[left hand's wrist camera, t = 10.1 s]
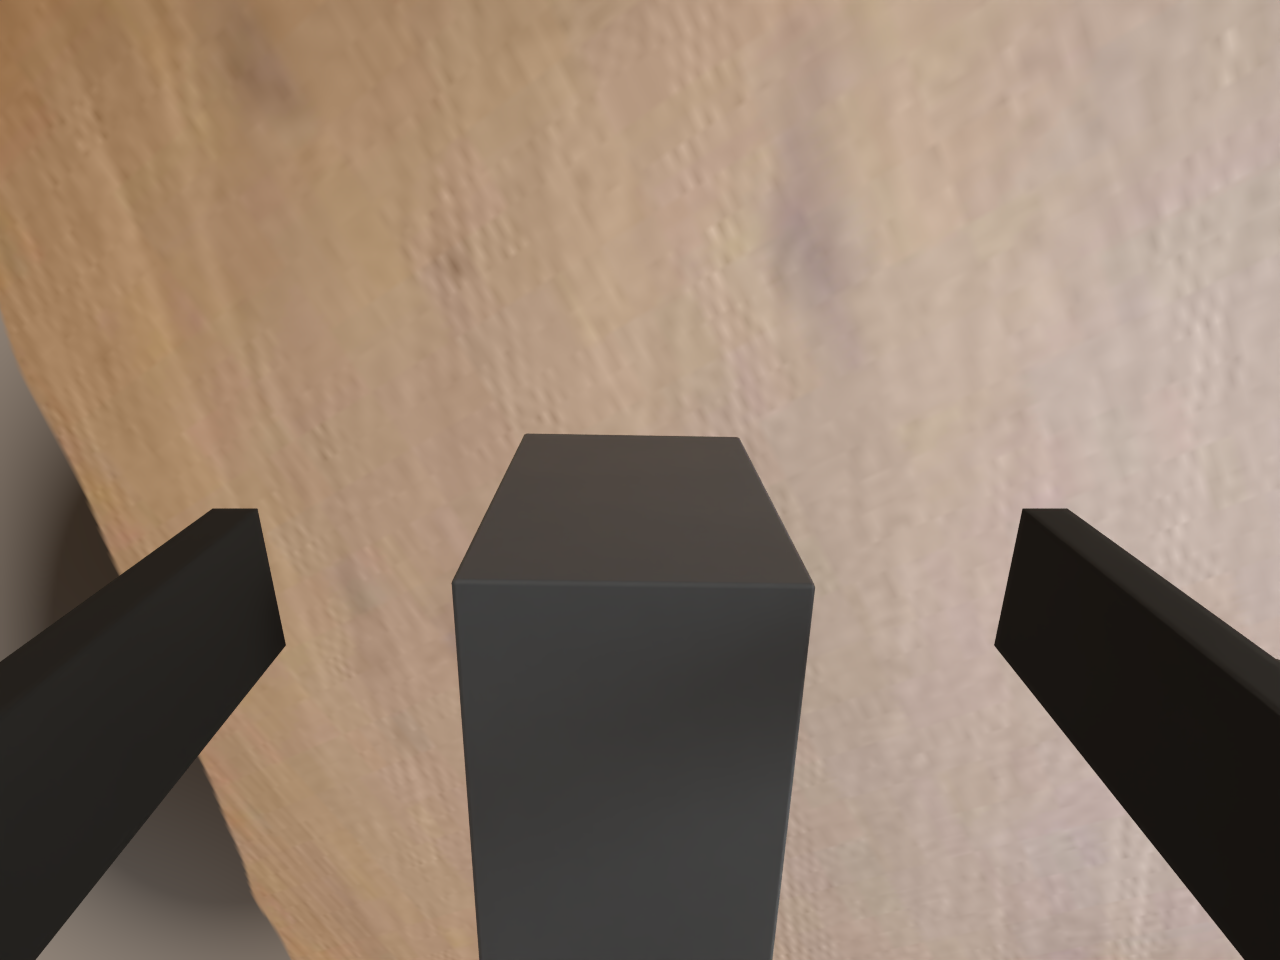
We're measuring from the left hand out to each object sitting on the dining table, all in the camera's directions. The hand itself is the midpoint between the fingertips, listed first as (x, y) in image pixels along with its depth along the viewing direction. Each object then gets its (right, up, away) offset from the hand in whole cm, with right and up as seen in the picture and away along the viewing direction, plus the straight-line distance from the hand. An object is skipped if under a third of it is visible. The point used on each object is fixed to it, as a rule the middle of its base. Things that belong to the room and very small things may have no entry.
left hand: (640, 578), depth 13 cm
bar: (-1, -12, +12) cm, 17 cm away
